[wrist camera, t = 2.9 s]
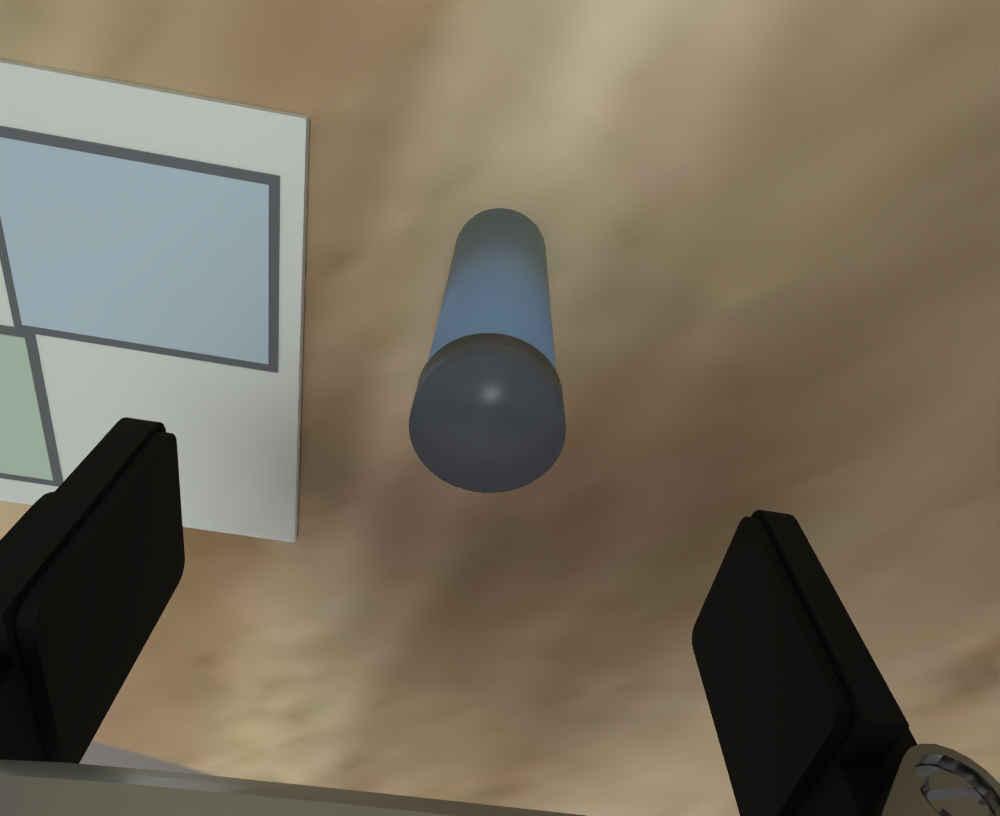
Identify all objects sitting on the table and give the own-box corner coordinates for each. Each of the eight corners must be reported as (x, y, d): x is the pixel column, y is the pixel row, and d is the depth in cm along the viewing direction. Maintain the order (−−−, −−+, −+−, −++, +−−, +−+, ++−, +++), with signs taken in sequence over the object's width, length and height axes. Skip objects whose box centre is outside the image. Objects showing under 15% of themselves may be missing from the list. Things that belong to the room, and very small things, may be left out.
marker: (557, 214, 21) (581, 376, 13) (538, 305, 23) (548, 503, 15) (459, 196, 21) (417, 349, 13) (446, 289, 23) (401, 480, 14)
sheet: (310, 116, 20) (305, 119, 20) (297, 536, 28) (293, 545, 28) (-329, -3, 19) (-350, -2, 19) (-148, 471, 27) (-159, 479, 27)
